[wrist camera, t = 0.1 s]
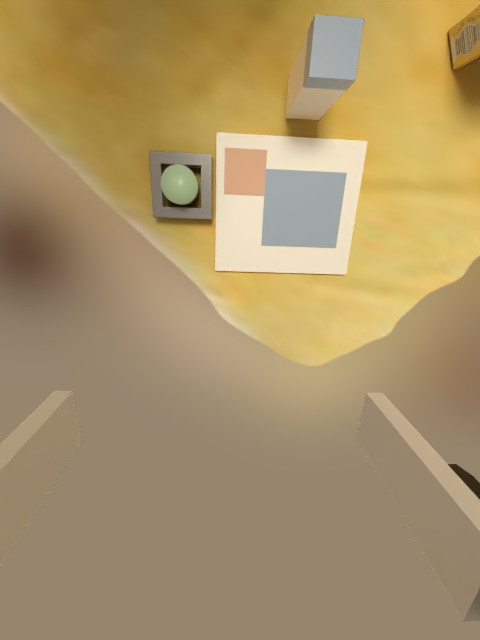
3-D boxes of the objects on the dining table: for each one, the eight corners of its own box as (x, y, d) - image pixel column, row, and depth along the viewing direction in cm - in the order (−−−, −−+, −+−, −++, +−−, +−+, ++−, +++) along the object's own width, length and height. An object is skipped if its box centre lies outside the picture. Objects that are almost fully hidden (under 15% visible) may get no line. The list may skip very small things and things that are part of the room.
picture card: (216, 133, 33) (216, 132, 32) (365, 142, 34) (368, 140, 33) (215, 269, 38) (215, 270, 38) (344, 273, 39) (346, 274, 39)
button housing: (153, 154, 33) (149, 150, 32) (212, 157, 34) (211, 154, 32) (156, 217, 36) (153, 216, 34) (212, 219, 36) (211, 219, 34)
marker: (288, 76, 32) (315, 14, 22) (323, 78, 32) (364, 18, 22) (285, 118, 33) (308, 76, 23) (318, 120, 33) (355, 79, 24)
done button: (164, 167, 33) (159, 163, 30) (199, 169, 33) (196, 164, 31) (166, 204, 34) (161, 203, 32) (199, 205, 34) (197, 204, 32)
